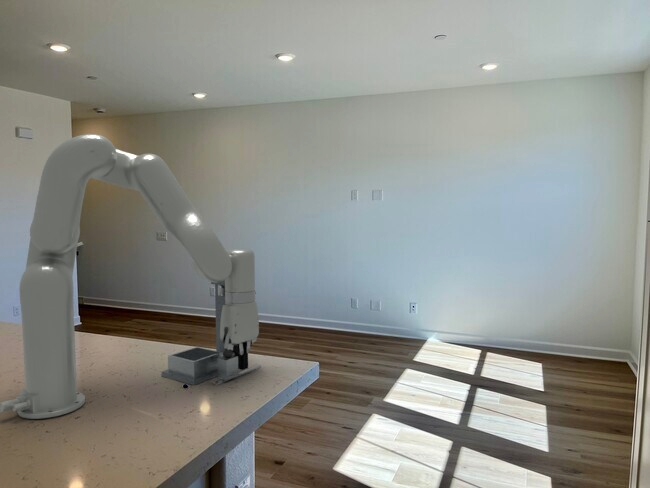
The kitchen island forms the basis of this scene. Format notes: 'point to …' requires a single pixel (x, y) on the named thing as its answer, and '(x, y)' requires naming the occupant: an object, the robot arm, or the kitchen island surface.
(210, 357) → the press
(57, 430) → the kitchen island surface
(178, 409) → the kitchen island surface
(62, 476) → the kitchen island surface
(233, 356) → the lever
